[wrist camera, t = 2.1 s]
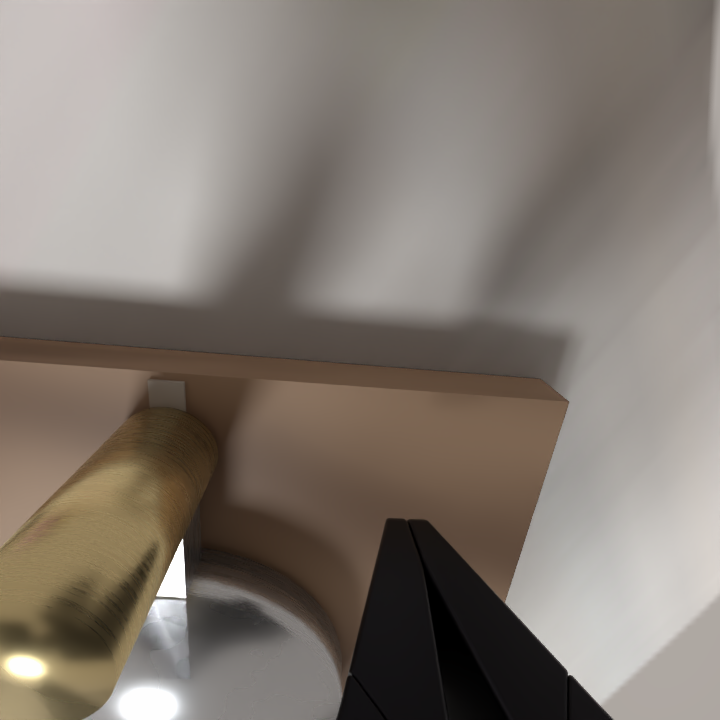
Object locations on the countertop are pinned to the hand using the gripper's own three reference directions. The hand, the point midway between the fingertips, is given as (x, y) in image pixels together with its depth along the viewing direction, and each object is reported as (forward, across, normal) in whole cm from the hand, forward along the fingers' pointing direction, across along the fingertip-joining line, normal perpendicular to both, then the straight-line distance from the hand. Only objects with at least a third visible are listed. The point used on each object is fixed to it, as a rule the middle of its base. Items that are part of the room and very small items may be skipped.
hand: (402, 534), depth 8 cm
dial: (+2, +6, +6) cm, 8 cm away
